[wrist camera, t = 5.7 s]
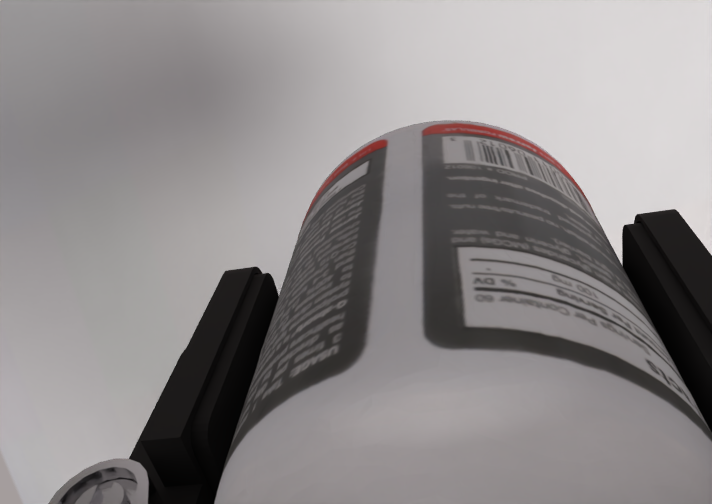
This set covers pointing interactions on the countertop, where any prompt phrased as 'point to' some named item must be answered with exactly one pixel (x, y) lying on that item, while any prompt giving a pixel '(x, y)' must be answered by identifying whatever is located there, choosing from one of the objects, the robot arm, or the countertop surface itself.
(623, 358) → the pill bottle
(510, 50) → the countertop surface
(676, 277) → the robot arm
